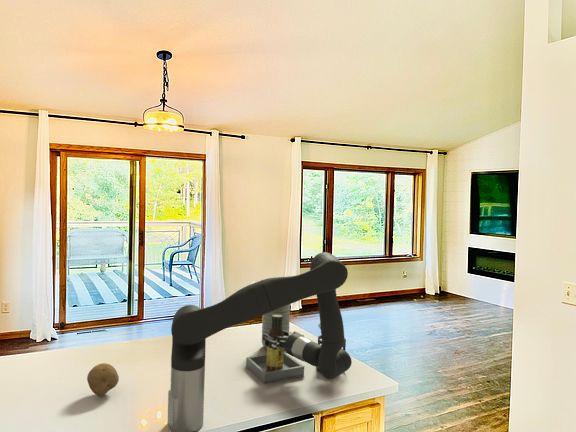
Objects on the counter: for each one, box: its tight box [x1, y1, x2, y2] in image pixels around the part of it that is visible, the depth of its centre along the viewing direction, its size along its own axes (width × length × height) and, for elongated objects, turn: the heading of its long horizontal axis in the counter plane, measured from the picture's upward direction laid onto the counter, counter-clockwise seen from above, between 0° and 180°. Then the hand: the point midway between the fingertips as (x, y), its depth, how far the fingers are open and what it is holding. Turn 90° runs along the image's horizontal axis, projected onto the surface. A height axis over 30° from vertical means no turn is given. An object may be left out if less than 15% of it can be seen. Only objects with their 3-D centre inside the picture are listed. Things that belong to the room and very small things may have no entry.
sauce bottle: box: [266, 315, 285, 371], centre depth 155 cm, size 6×6×20 cm
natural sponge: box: [86, 363, 119, 397], centre depth 132 cm, size 9×9×10 cm
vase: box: [261, 304, 291, 351], centre depth 178 cm, size 12×12×23 cm
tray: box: [245, 351, 305, 385], centre depth 155 cm, size 16×16×4 cm
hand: (272, 334), depth 156 cm, fingers open, 8 cm apart
